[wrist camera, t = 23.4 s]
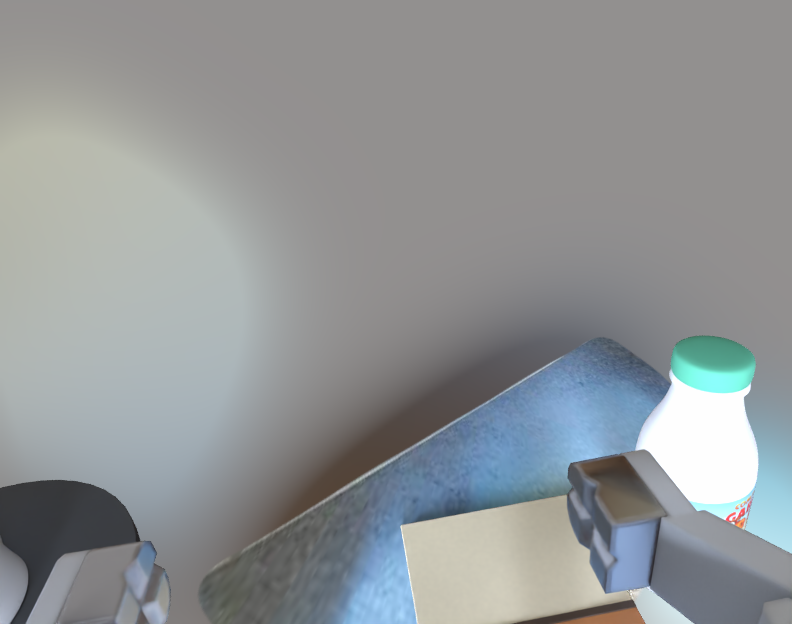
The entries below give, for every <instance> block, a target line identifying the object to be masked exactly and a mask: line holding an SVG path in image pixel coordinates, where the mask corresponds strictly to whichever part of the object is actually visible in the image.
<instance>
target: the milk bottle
mask: <svg viewBox="0 0 792 624" xmlns="http://www.w3.org/2000/svg"><path fill="white" fill-rule="evenodd" d="M754 371H755V358H754V356H753V354H752V353H751V352H750V351H749V350H748V349H747V348H745V347H744V346H742V345H740V344H738V343H737V342H734V341H732V340H729V339H725V338H721V337H715V336H694V337H689V338H686V339H683V340H681V341H679V342H678V343H677V344H676V346H675V347H674V349H673V353H672V358H671V370H670V372H669V375H670V379H671V381H672V384H671V387H670V388H669V390H668V392H667V394H666V395H665V397H664V398H663V399H662V401H661V402H660V403H659V404H658V405H657V406H656V408H655V409H654V410H653V411H652V412H651V413H650V415H649V416H648V418H647V419H646V421H645V422H644V424H643V426H642V429H641V431H640V434H639V437H638V440H637V444H636V450H635V451H637V450H642V449H645V450H647V451H649V452H650V453H651V454H652V455H653V457H654V458H655V459H656V460H657V462H658V463H659V464H660V465H661V466H662V468H663V469H664V470H665V471H666V473H667V474H668V475H669V476H670V478H671V479H672V480H673V481H674V483H675V484H676V485H677V486H678V488H679V489H680V490H681V491H682V493H683V494H684V495H685V496H686V497H687V499H688V500H689V501H690V502H691V504H692V505H693V506H694V507H695V509H696V510H697V511H700V510H707V511H709V512H710V513H712V514H714V515H716V516H718V517H720V518H722V519H724V520H726V521H728V522H730V523H732V524H734V525H736V526H738V527H740V528H742V529H744V530H745V527H746V523H747V519H748V515H749V511H750V507H751V503H752V499H753V495H754V490H755V485H756V479H757V474H758V450H757V445H756V441H755V438H754V435H753V432H752V429H751V427H750V424H749V422H748V419H747V416H746V412H745V406H744V396H745V395H746V394H747V393H748V392H749V391H750V388H751V384H750V383H751V381H752V379H753V376H754ZM646 588H647V589H649V590H650V591H652V590H651V589H650V587H646ZM652 592H653V591H652ZM655 594H656V593H655Z"/></svg>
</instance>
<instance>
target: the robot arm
mask: <svg viewBox="0 0 792 624" xmlns="http://www.w3.org/2000/svg"><path fill="white" fill-rule="evenodd" d="M568 479H569V481H570V483H571V485H572V487H573V488H572V489H571V490H570V491H569V493H568V494H567V510H568V515H569V520H570V524H571V526H572V529H573V532H574V534H575V536H576V538H577V540H578V542H579V543H580V544H581V545H583V546H584V547H586V548H587V549H589V550H590V560H589V563H590V565H591V567H592V569H593V571H594V573H595V575H596V577H597V579H598V581H599V583H600V584H601V586H602V588H603V590H604V592H605V594H608V593H614V592H620V591H626V590H632V589H638V588H644V587H650V589H651V590H652V591H653V592H654V593H656V594H657V595H658V596H660V597H661V598H662V599H663V600H665V601H666V602H667V603H669V604H670V605H671V606H672V607H674V608H675V609H677V610H678V611H679V612H680V613H682V614H683V615H684V616H685V617H686V618H688V619H689V620H690V621H692V622H693V623H694V624H792V554H791V553H789V552H787V551H785V550H783V549H781V548H779V547H777V546H775V545H773V544H771V543H769V542H767V541H765V540H763V539H762V538H760V537H758V536H755V535H754V534H752V533H750V532H748V531H746V530H744V529H742V528H740V527H738V526H736V525H734V524H732V523H730V522H728V521H726V520H724V519H722V518H720V517H718V516H716V515H714V514H712V513H710V512H709V511H707V510H700V511H697V510H696V509H695V507H694V506H693V505H692V504H691V502H690V501H689V500H688V499H687V497H686V496H685V495H684V494H683V493H682V491H681V490H680V489H679V488H678V486H677V485H676V484H675V483H674V481H673V480H672V479H671V478H670V476H669V475H668V474H667V473H666V471H665V470H664V469H663V468H662V466H661V465H660V464H659V463H658V462H657V460H656V459H655V458H654V457H653V455H652V454H651V453H650V452H649V451H647V450H645V449H642V450H637V451H631V452H626V453H621V454H619V455H618V454H615V455H610V456H605V457H600V458H594V459H589V460H584V461H579V462H574V463H570V466H569V468H568ZM156 555H157V552H156V550H155V548H154V547H153V545H152V543H151V541H140V542H134V543H127V544H121V545H114V546H108V547H102V548H95V549H92V550H85V551H79V552H73V553H66V554H64V555H63V556H62V557H61V558H60V559H58V560H57V562H56V564H55V566H54V568H53V570H52V572H51V574H50V576H49V578H48V580H47V582H46V584H45V586H44V588H43V590H42V592H41V594H40V596H39V598H38V600H37V602H36V604H35V606H34V608H33V610H32V612H31V614H30V616H29V618H28V620H27V622H26V624H165V623H166V622H167V617H168V614H169V609H170V596H171V595H170V593H171V589H170V584H169V579H168V576H167V574H166V572H165V569H164V568H162V567H160V566H158V565H156V564H154V561H155V558H156ZM27 586H28V569H27V566H26V564H25V562H24V561H23V560H22V558H20V557H19V556H18V555H17V554H15V553H14V552H12V551H11V550H10V549H8V548H7V547H6V546H5V545H4V544H3V542H2V538H1V536H0V624H10V623H11V621H12V620H13V618H14V617H15V615H16V614H17V612H18V610H19V608H20V606H21V604H22V602H23V599H24V597H25V594H26V591H27Z"/></svg>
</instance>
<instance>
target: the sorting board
mask: <svg viewBox="0 0 792 624" xmlns="http://www.w3.org/2000/svg"><path fill="white" fill-rule="evenodd" d="M401 531H402V537H403V543H404V549H405V554H406V560H407V566H408V572H409V578H410V584H411V589H412V595H413V601H414V607H415V613H416V619H417V624H645V622H644V620H643V618H642V616H641V615H640V613H639V611H638V609H637V607H636V605H635V603H634V601H633V600H632V599H631V597H630V595H629V593H628V592H627V590H626V591H620V592H614V593H608V594H605V592H604V590H603V588H602V586H601V584H600V583H599V581H598V579H597V577H596V575H595V573H594V571H593V569H592V567H591V565H590V563H589V560H590V550H589V549H587V548H586V547H584V546H583V545H581V544H580V543H579V542H578V540H577V538H576V536H575V534H574V532H573V529H572V526H571V524H570V520H569V515H568V510H567V494H566V495H560V496H555V497H550V498H544V499H539V500H534V501H528V502H523V503H517V504H512V505H507V506H501V507H496V508H491V509H485V510H480V511H474V512H469V513H464V514H458V515H453V516H448V517H442V518H437V519H431V520H426V521H421V522H415V523H410V524H405V525H401Z"/></svg>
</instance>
